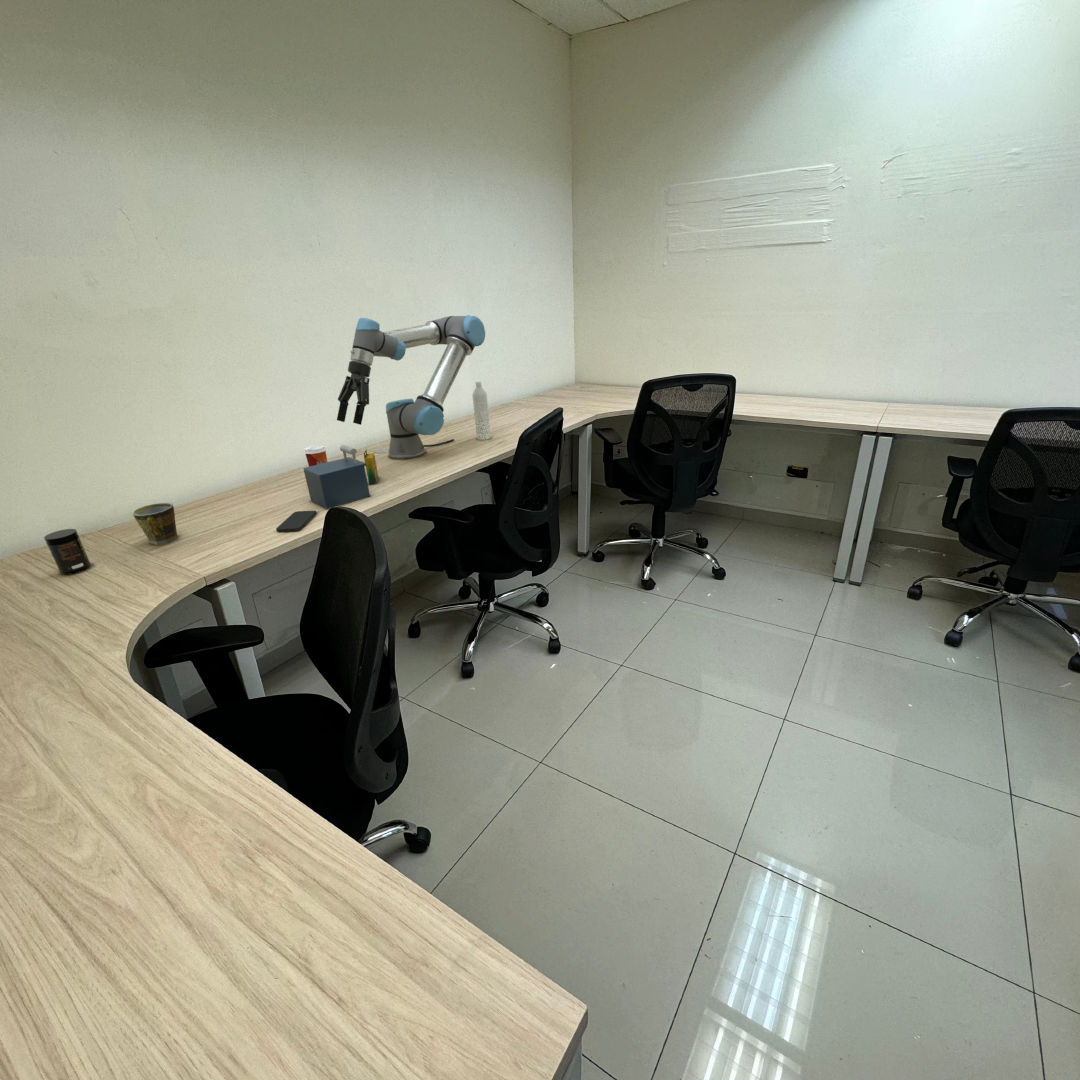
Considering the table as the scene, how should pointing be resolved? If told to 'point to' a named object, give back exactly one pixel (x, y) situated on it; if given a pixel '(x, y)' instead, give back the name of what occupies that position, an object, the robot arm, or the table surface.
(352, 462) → the lid
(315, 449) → the paper cup
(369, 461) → the crayon box
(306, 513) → the phone
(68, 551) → the supplement container
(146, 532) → the ceramic cup
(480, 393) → the water bottle
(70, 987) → the table surface
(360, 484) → the chest
